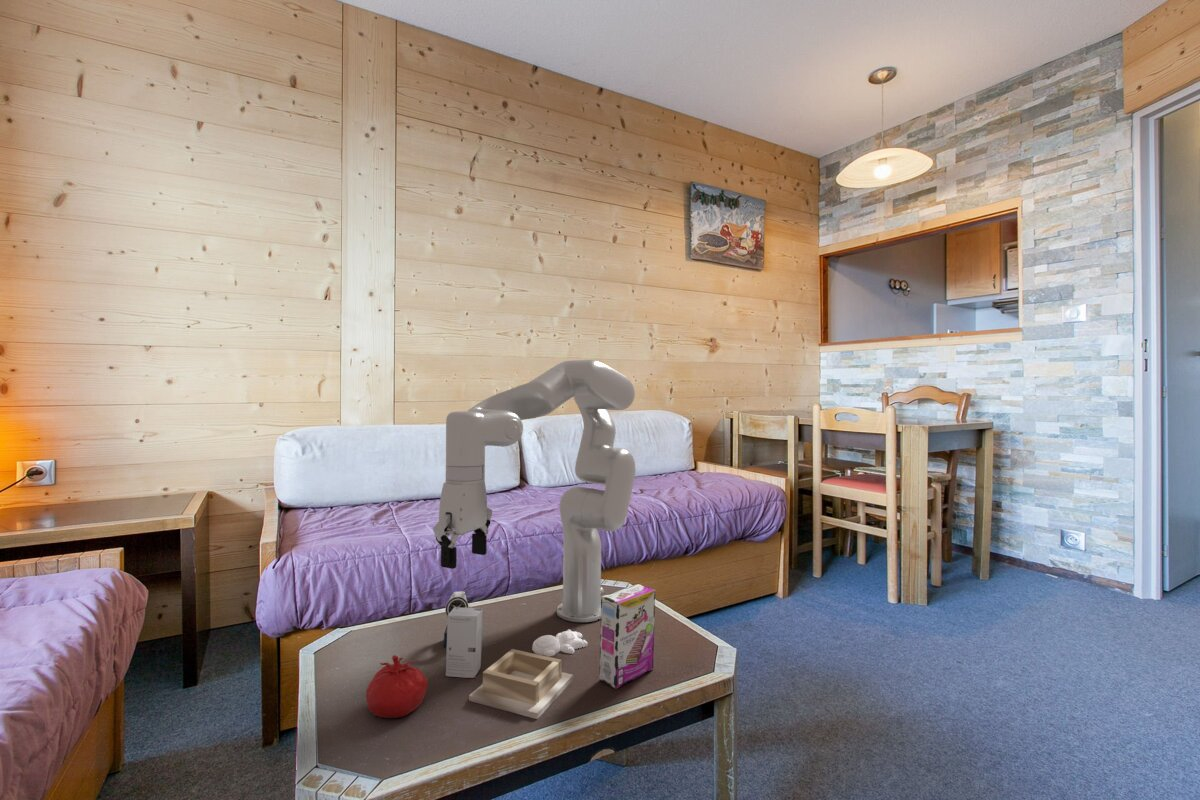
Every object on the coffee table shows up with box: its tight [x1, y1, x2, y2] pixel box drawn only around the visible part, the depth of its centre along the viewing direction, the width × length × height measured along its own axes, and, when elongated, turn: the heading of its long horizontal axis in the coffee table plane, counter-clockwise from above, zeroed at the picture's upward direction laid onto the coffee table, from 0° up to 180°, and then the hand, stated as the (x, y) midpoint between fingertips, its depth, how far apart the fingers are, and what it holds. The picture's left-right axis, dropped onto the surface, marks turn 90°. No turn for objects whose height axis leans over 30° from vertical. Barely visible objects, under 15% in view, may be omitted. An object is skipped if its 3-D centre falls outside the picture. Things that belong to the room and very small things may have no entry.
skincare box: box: [445, 607, 483, 679], centre depth 109 cm, size 6×4×12 cm
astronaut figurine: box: [531, 629, 588, 657], centre depth 121 cm, size 9×12×3 cm
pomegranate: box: [365, 654, 429, 719], centre depth 96 cm, size 10×10×9 cm
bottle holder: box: [468, 648, 574, 720], centre depth 103 cm, size 14×14×4 cm
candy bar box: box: [598, 584, 656, 689], centre depth 108 cm, size 11×5×16 cm, turn 134°
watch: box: [443, 591, 472, 649], centre depth 122 cm, size 6×8×11 cm
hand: (464, 560), depth 109 cm, fingers open, 9 cm apart
